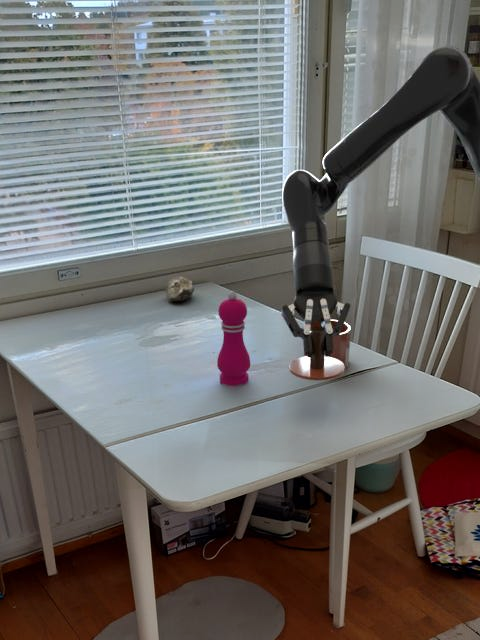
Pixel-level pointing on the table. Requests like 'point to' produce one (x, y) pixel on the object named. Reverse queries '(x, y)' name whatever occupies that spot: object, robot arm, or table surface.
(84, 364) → the table surface
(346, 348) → the pot
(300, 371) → the lid
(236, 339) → the pepper mill
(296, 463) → the table surface
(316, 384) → the table surface
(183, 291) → the fossilized seashell
